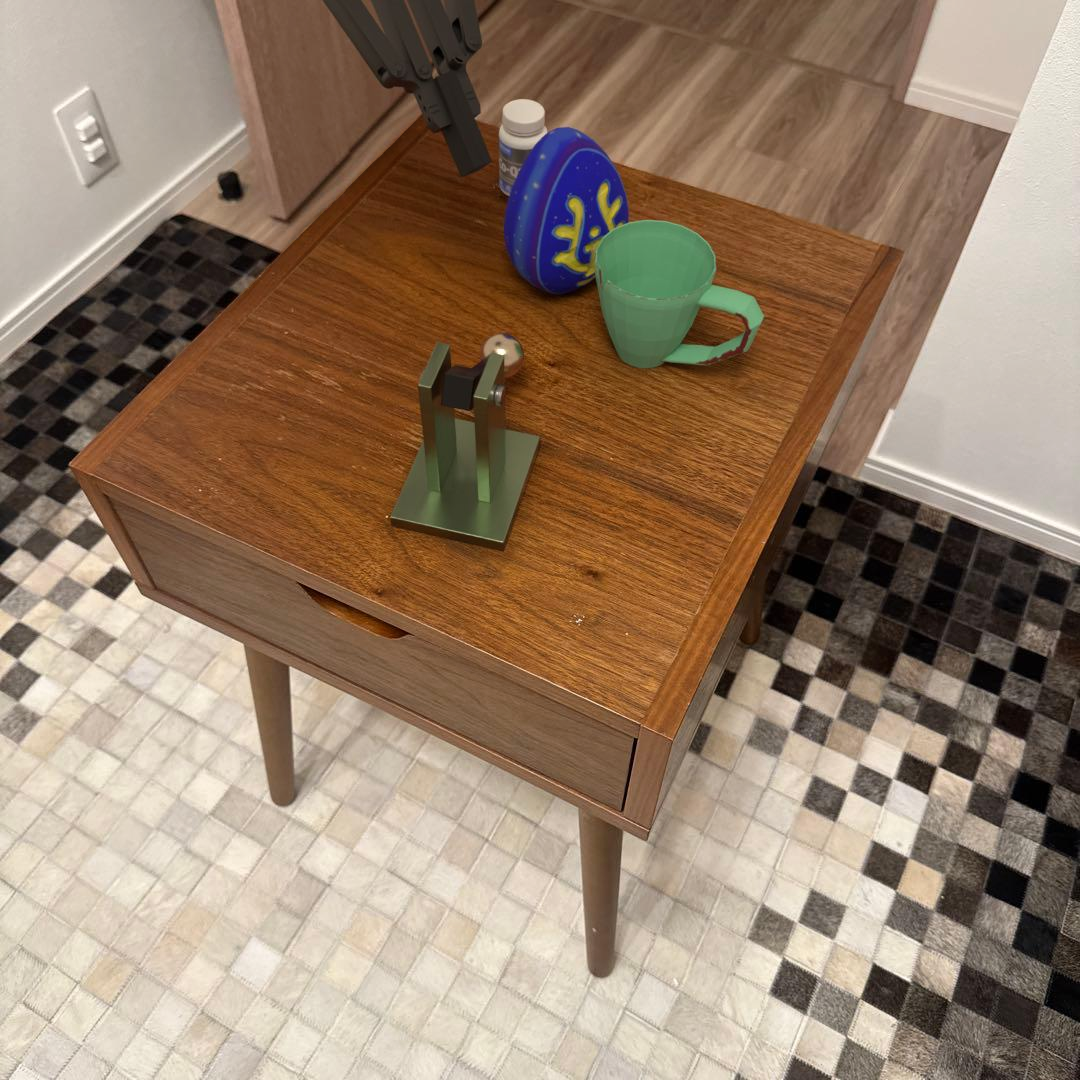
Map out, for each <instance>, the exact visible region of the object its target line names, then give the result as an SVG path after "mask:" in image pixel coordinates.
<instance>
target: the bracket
mask: <svg viewBox="0 0 1080 1080" xmlns="http://www.w3.org/2000/svg"><path fill="white" fill-rule="evenodd" d="M451 354H452V353H451V344H450V343H445V342H438V341H437V342H436V344H435V345H434V348H433V350H432V353H430V356H429V359H428V361H427V363H426V366H425V368H424V369H422V371H421V373H420V376H419V381H418V383H417V391H418V401H419V410H420V417H421V418H420V421H421V429H422V442H421V444H420V446H419V449H418V451H417V453H416V456H415V458H414V461H413V462H412V465H411V467H410V470H409V472H408V475H407V477H406V479H405V481H404V483H403V486H402V488H401V491H400V493H399V495H398V498H397V499H396V502H395V505H394V507H393V508H392V511H391V514H390V516H389V519H390V525H391V527H395V528H399V529H403V530H408V531H412V532H417V533H421V534H425V535H430V536H435V537H438V538H444V539H448V540H452V541H457V542H460V543H465V544H470V545H474V546H479V547H482V548H483V547H484V548H488V549H492V550H495V551H501V552H504V551H505V548H506V546H507V543H508V540H509V537H510V535H511V531H512V528H513V525H514V522H515V520H516V516H517V514H518V511H519V508H520V505H521V502H522V500H523V496H524V494H525V491H526V488H527V485H528V482H529V479H530V476H531V474H532V470H533V467H534V465H535V462H536V458H537V456H538V452H539V450H540V447H541V436H540V435H537V434H532V433H527V432H522V431H517V430H513V429H508V428H506V392H507V389H506V382H505V381H506V380H505V379H506V378H505V365H504V355H500V354H495V353H491V354H490V357H489V359H488V362H487V364H486V367H485V369H484V372H483V374H482V376H481V379H480V381H479V384H478V386H477V389H476V391H475V394H474V396H473V399H474V408H473V416H474V417H473V418H474V419H473V421H470V420H465V419H460V418H456V417H455V408H451V407H447V406H442V405H441V396H442V388H443V380H444V373H445V372H446V371H448V370H449V369H450V368H452V355H451Z"/></svg>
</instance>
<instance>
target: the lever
mask: <svg viewBox="0 0 1080 1080" xmlns="http://www.w3.org/2000/svg"><path fill="white" fill-rule="evenodd" d="M491 353H495V354H500V355H504V365H505V379H508V378H510V377H513V376H515V375H516V374H517V373H518V372H520V370H521V368H522V367H523V365H524V362H525V351H524V347H523V345H522V343H521V342H520V341H519V339H518V338H516V337H515V336H513V335H511V334H510V333H503V332H502V333H500V332H499V333H495V334H493V335H490V336H489V337H488V338H487V339H485V341H484V342H483V344H482V345H481V348H480V352H479V359H480V361H479V362H477V363H476V364H474V365H473V366H472V367H467V366H464V365H458V364H454V366H451V368H450V369H449V370H448V371H446V372H445V373H444V380H443V388H442V396H441V405H442V406H447V407H451V408H454V409H456V410H461V411H465V412H471V411H472V410H474V399H473V396H474V394H475V391H476V389H477V386H478V384H479V381H480V379H481V376H482V374H483V372H484V369H485V367H486V364H487V362H488V359H489V357H490V354H491Z"/></svg>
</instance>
